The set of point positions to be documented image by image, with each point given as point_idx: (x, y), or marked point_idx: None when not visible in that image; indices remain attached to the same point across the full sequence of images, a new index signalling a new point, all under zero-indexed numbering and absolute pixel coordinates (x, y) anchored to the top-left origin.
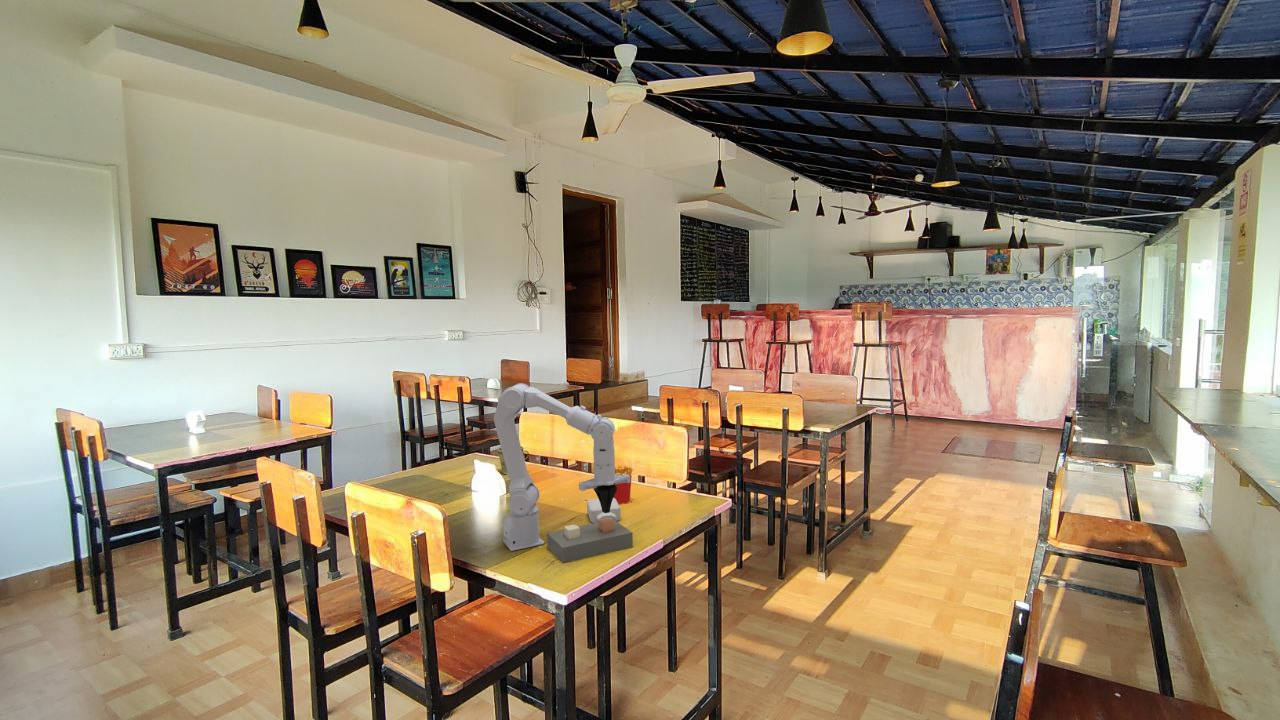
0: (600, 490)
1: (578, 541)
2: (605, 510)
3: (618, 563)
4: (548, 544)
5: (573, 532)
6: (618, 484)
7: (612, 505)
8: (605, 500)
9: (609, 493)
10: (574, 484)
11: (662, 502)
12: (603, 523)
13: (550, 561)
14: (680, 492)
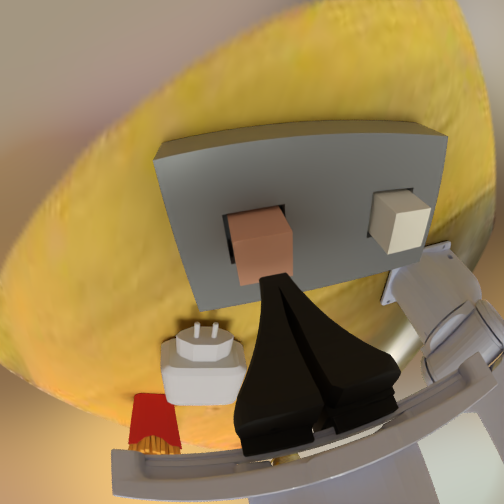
0: (388, 382)
1: (397, 158)
2: (291, 281)
3: (270, 20)
4: None
5: (409, 204)
6: (157, 431)
7: (182, 379)
8: (317, 325)
9: (308, 370)
10: (218, 434)
11: (70, 378)
12: (290, 229)
13: None
14: (49, 392)
